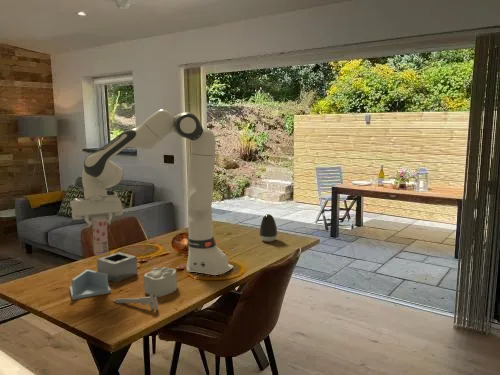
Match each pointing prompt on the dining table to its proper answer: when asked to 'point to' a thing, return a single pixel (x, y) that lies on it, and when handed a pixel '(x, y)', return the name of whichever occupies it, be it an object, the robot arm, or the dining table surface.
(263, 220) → the dark grey egg shape
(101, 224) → the beverage can
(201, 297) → the dining table surface
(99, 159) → the robot arm
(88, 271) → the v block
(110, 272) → the pocket block
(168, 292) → the lumpy-topped squat cylinder
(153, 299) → the caliper
